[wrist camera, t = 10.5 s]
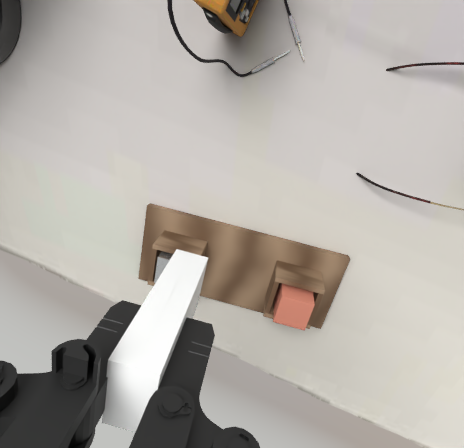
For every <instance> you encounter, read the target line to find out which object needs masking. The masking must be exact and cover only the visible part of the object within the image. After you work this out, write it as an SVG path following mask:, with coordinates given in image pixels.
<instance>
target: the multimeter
mask: <svg viewBox="0 0 464 448" xmlns="http://www.w3.org/2000/svg"><path fill="white" fill-rule="evenodd" d="M194 1H195V2H196V3H197V4H198V5H199V6H200V7H201V8H202V9H203V11H204V13H205V16H206V18H207V20H208V21H209V23H210V24H211V25H212V26H213V27H214V28H216V29H217V30H218V31H220V32H222V33H230V32H232V33H234V34H236V35H238V36H240V37H241V36H243V34H244V33H245V30H246V28H247V25H248V23H249V21H250V19H251V17H252V14H253V12H254V10H255V8H256V5H257V3H258V1H259V0H194ZM284 1H285V5H286V8H287V12H288V14H289V21H290V25H291V28H292V31H293V35H294V38H295V41H296V44H297V43H298V46H299V49H300V53H301V56H302V59H303V60H304V56H303V53H302V49H301V46H300V43H299V42H301V40H300V38H299V35H298V31H297V28H296V25H295V22H294V19H293V17H292V15H291V13H290V10H289V7H288V4H287V0H284ZM168 12H169V17H170V21H171V24H172V27H173V29H174V32H175V34H176V36H177V38H178V39H179V41H180V43H181V44H182V45H183V47H184V48H185V49H186V50H187V51H188V52H189V53H190V54H191V55H192V56H193V57H194V58H195V59H197V60H198V61H200V62H203V63H211V62H221V63H224V64H226V65H227V66H228V67H229V68H230V70H231V71H232V72H233V73H235V74H236V75H238V76H241V77H242V76H247V75H249V74H251V73H255V72H257V71H259V70H261V69H263V68H264V67H266V66H268V65H270V64H272V63H275V61H274V60H276V59H278V58H280V57H282V56H283V55H285V54H287V53H288V52H290V51H291V50H290V51H287V52H285V53H283V54H281V55H280V56H278V57H276V58H274V59H273V57H272V58H271V59H269V60H268V61H266V62H264V63H262V64H260V65H259V66H257V67H255V68H254V69H252V70H251V71H250V72H248V73H246V74H239V73H237V72H236V71H234V70H233V69H232V67H231V66H230V65H229V64H228V63H227V62H225V61H223V60H219V59H214V60H205V59H201V58H200V57H198V56H196V55H195V54H194V53H193V52H192V51H191V50H190V49H189V48H188V47H187V45H186V44H185V42H184V41H183V39H182V37H181V36H180V34H179V32H178V29H177V26H176V24H175V21H174V16H173V11H172V0H168Z"/></svg>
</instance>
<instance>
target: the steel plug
mask: <svg viewBox="0 0 464 448" xmlns="http://www.w3.org/2000/svg"><path fill="white" fill-rule="evenodd" d="M172 256H173V254H171V253H168V252H164V251H162V252H161V253H160V255H159V256H158V259H157V266H156V273H155V280H154V283H156V282H157V280H158V278H159V277H160V275H161V274H162V272H163V270H164V269H165V267H166V265H167V264H168V262H169V261H170V259H171V257H172Z"/></svg>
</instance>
